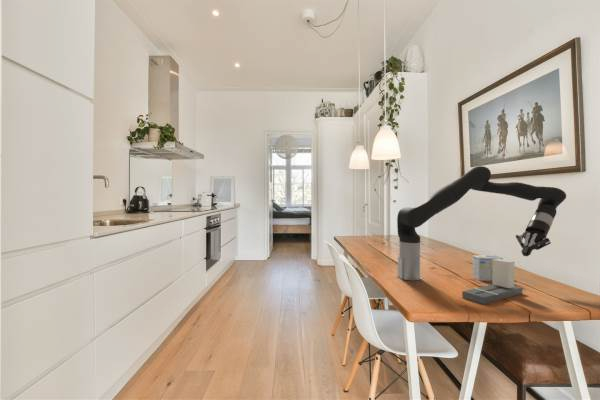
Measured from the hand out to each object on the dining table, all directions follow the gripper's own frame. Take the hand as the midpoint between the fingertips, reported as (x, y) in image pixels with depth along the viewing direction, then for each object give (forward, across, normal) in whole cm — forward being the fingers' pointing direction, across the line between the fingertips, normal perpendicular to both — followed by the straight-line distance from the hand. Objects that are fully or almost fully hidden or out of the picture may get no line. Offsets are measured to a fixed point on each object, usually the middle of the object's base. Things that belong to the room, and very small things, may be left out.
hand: (524, 254), depth 125 cm
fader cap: (+19, 0, +3) cm, 19 cm away
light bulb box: (+10, +15, -10) cm, 21 cm away
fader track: (+26, 0, +6) cm, 26 cm away
